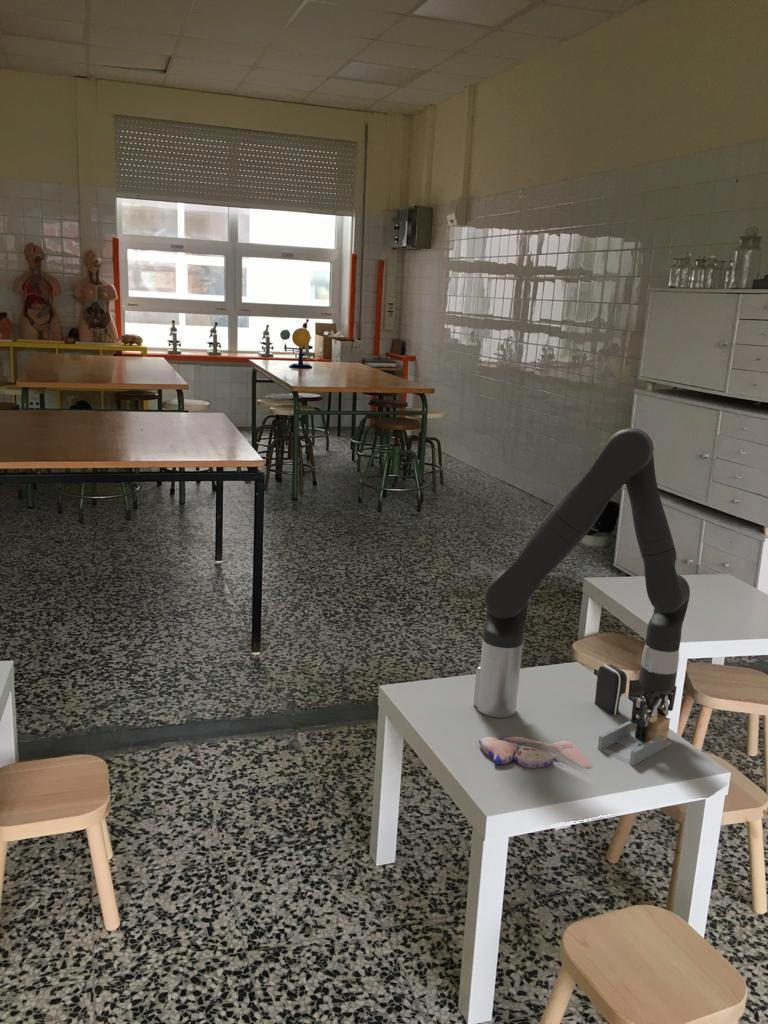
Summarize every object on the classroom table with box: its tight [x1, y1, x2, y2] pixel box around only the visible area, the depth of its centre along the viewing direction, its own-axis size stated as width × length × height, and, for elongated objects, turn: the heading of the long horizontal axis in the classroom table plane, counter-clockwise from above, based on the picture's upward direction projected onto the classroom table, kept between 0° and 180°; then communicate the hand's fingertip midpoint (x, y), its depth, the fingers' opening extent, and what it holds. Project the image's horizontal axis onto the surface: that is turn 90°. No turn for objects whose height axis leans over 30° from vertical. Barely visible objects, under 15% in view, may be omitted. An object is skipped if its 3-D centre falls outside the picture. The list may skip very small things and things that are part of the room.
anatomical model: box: [478, 736, 594, 770], centre depth 178 cm, size 20×3×15 cm
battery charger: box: [594, 664, 628, 716], centre depth 200 cm, size 7×4×11 cm, turn 25°
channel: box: [597, 720, 673, 766], centre depth 183 cm, size 9×16×4 cm, turn 132°
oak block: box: [635, 710, 671, 742], centre depth 186 cm, size 5×5×5 cm
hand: (649, 734), depth 187 cm, fingers open, 7 cm apart
